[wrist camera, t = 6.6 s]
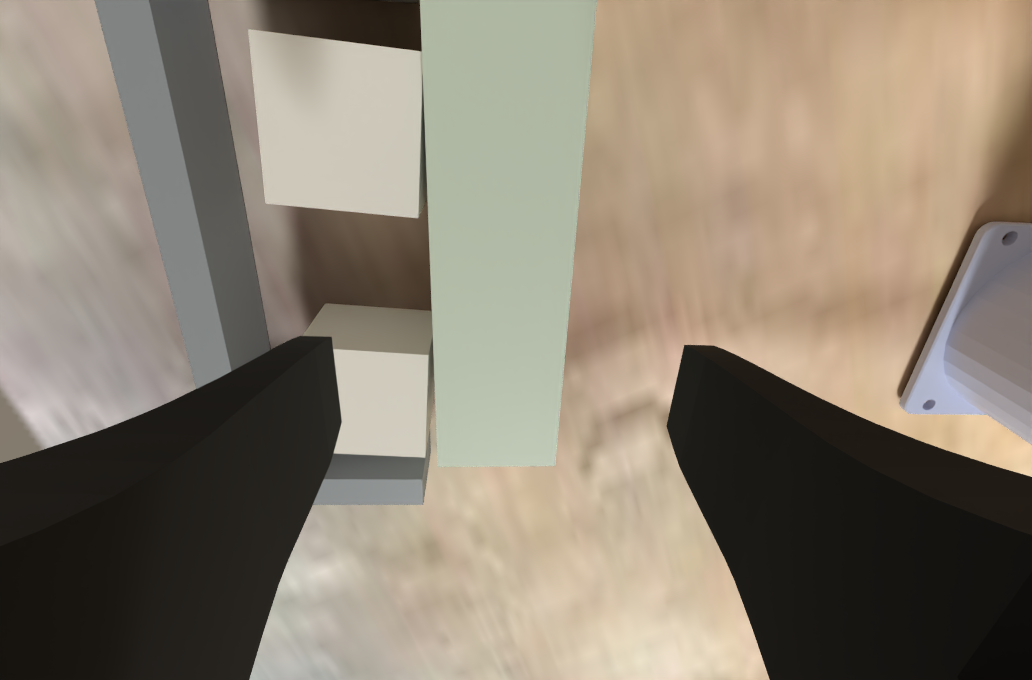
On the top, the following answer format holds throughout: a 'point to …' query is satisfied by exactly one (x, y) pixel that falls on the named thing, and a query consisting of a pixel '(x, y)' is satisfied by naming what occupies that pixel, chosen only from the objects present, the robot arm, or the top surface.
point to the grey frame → (212, 213)
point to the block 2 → (381, 377)
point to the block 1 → (340, 124)
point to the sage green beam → (502, 217)
